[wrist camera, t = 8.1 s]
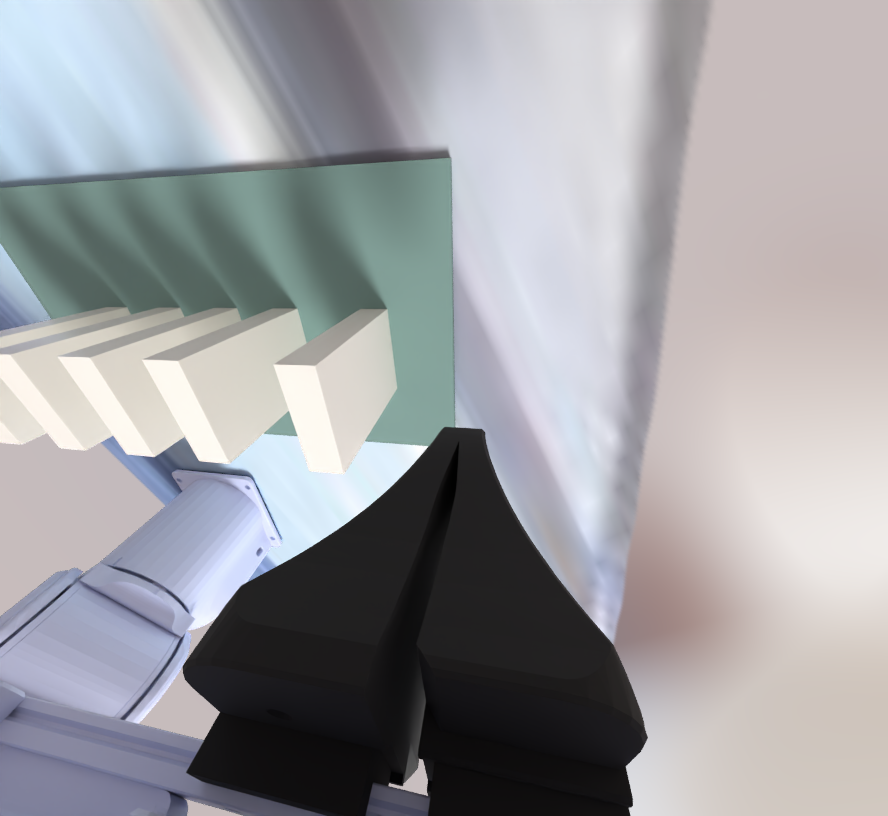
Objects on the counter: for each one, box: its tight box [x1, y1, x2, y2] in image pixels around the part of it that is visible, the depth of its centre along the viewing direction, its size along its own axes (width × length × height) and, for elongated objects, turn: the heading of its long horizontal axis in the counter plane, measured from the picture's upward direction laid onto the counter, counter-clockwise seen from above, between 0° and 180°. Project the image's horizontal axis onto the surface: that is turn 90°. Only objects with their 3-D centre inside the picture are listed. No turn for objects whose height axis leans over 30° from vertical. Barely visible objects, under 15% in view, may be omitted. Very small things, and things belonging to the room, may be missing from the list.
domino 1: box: [0, 308, 184, 451], centre depth 18 cm, size 5×2×8 cm, turn 2°
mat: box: [0, 158, 455, 446], centre depth 20 cm, size 16×28×1 cm, turn 92°
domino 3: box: [142, 308, 306, 464], centre depth 16 cm, size 5×2×8 cm, turn 2°
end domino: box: [0, 307, 131, 445], centre depth 18 cm, size 5×2×8 cm, turn 2°
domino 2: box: [57, 308, 242, 457], centre depth 17 cm, size 5×2×8 cm, turn 2°
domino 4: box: [273, 309, 397, 474], centre depth 16 cm, size 5×2×8 cm, turn 2°
